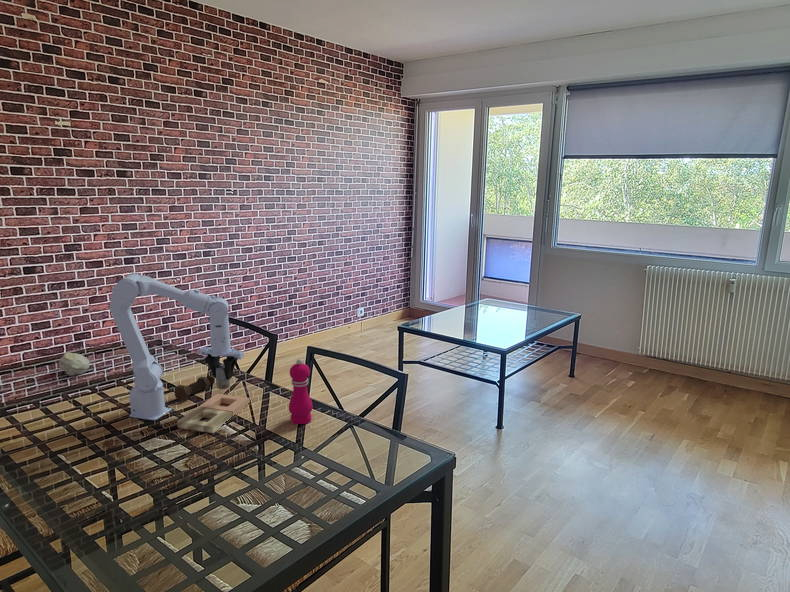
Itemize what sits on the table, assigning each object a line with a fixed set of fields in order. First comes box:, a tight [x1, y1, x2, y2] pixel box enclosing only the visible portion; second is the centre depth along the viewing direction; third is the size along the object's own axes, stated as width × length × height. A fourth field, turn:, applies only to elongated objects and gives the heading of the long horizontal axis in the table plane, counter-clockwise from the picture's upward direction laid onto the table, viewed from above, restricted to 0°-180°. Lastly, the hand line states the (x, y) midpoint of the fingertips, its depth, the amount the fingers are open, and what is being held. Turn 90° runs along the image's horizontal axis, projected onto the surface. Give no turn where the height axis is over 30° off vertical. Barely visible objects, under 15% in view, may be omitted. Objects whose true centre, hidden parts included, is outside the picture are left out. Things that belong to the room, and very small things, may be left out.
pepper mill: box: [288, 358, 314, 425], centre depth 156 cm, size 7×7×20 cm
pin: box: [215, 363, 231, 390], centre depth 163 cm, size 4×4×7 cm
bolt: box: [174, 375, 216, 402], centre depth 177 cm, size 6×5×15 cm
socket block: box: [198, 393, 251, 417], centre depth 166 cm, size 12×10×2 cm
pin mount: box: [176, 406, 233, 434], centre depth 156 cm, size 12×10×2 cm
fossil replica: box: [58, 352, 91, 377], centre depth 191 cm, size 12×8×10 cm
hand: (222, 377), depth 164 cm, fingers closed on pin, 4 cm apart
